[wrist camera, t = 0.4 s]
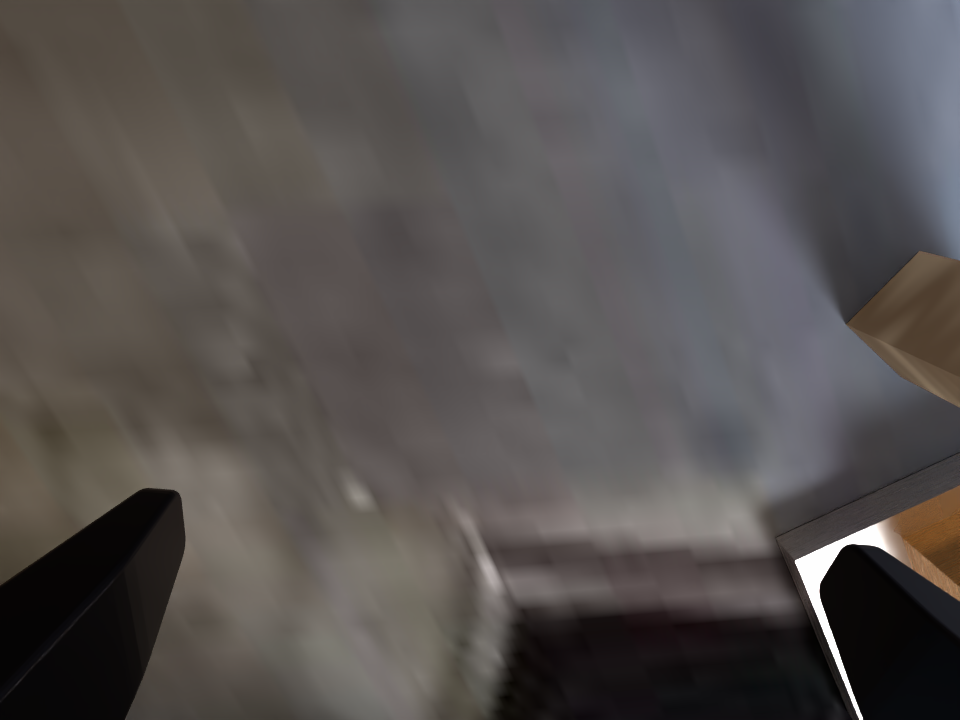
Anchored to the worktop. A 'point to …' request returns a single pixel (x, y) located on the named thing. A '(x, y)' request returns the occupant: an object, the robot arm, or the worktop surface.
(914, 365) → the tan block
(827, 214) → the worktop surface
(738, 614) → the worktop surface
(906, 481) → the bracket plate
